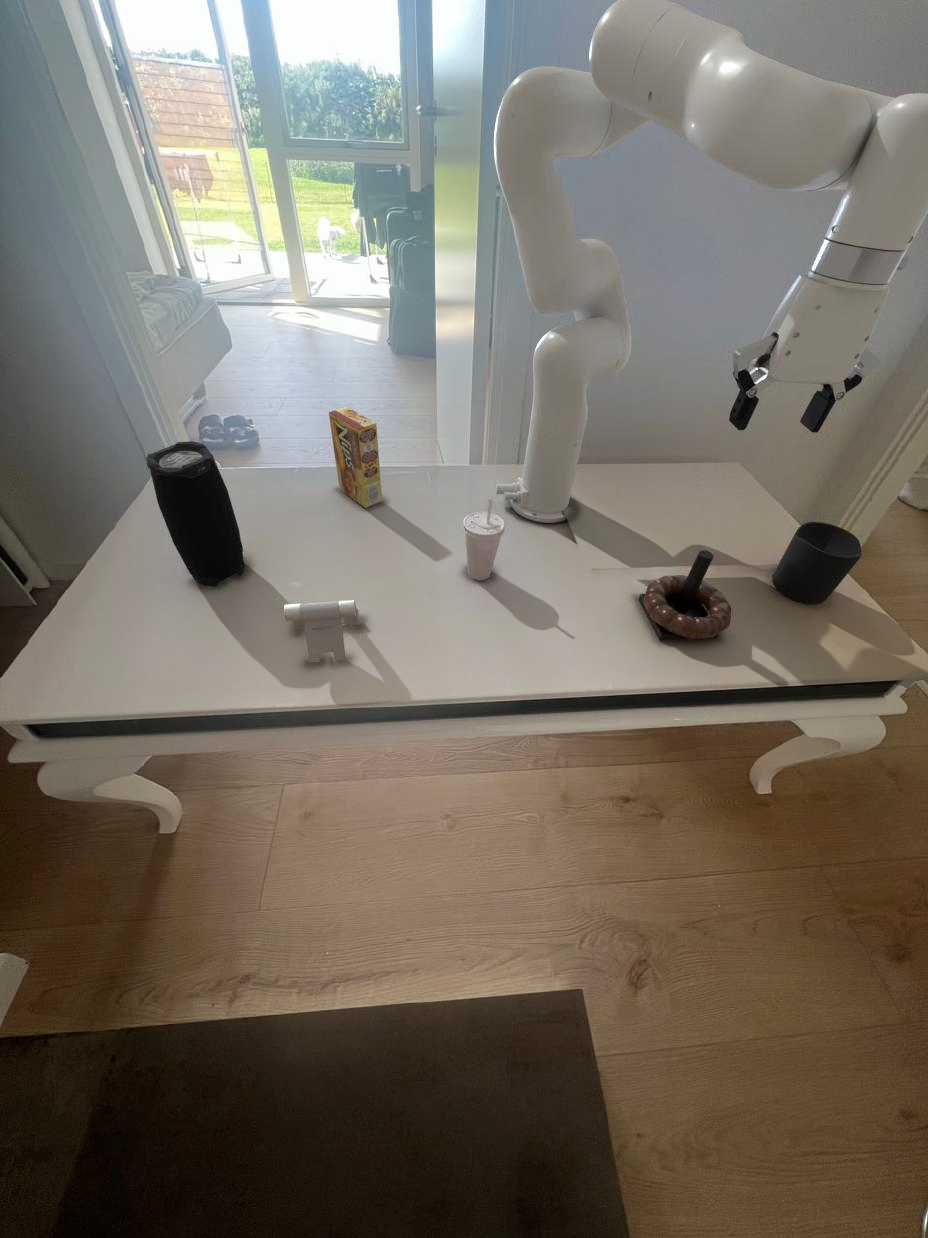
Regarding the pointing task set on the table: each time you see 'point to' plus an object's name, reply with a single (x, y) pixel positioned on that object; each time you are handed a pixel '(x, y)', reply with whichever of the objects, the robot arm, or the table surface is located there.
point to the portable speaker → (197, 511)
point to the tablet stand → (323, 625)
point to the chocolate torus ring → (683, 623)
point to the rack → (685, 597)
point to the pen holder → (816, 562)
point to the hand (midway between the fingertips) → (772, 426)
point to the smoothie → (482, 541)
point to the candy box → (356, 456)
